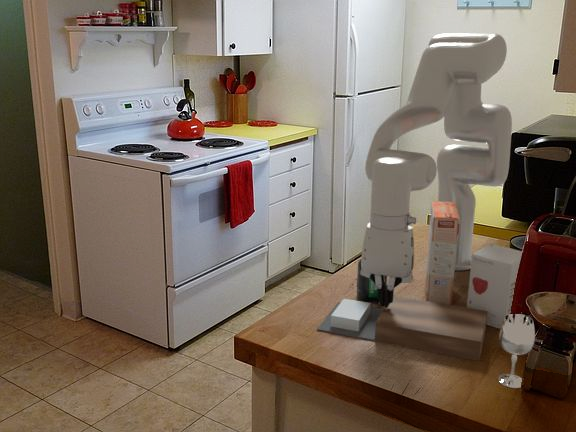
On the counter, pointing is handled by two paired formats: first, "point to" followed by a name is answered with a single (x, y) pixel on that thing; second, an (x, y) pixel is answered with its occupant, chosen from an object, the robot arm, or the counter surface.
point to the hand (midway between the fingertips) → (384, 304)
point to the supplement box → (493, 281)
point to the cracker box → (441, 252)
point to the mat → (364, 333)
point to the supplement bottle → (366, 287)
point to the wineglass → (515, 343)
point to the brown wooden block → (432, 327)
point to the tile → (350, 315)
